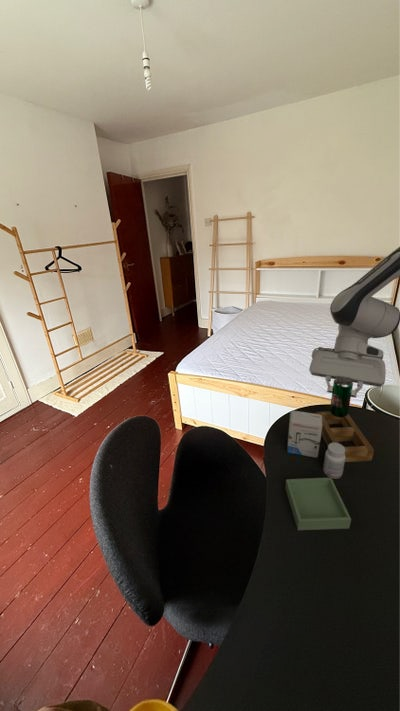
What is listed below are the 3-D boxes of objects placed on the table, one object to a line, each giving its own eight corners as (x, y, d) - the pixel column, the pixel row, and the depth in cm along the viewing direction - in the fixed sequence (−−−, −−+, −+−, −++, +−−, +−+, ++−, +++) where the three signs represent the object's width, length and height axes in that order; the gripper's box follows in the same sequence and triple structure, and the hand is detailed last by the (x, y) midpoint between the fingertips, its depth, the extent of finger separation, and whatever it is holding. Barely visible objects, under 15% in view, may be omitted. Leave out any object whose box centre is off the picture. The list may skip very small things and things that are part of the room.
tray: (329, 486, 75) (331, 477, 74) (349, 528, 65) (351, 519, 64) (285, 487, 76) (285, 479, 74) (297, 530, 66) (298, 521, 64)
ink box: (286, 452, 86) (289, 420, 81) (287, 441, 90) (290, 409, 85) (318, 458, 84) (322, 425, 78) (318, 446, 88) (322, 414, 83)
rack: (344, 420, 97) (345, 410, 96) (371, 460, 81) (374, 449, 80) (314, 421, 98) (315, 411, 96) (336, 462, 82) (338, 451, 80)
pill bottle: (346, 475, 78) (351, 451, 74) (332, 481, 76) (336, 457, 73) (332, 462, 82) (336, 439, 78) (319, 468, 80) (322, 444, 77)
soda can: (325, 411, 92) (330, 377, 86) (339, 406, 93) (343, 373, 88) (338, 420, 87) (343, 385, 82) (351, 415, 89) (357, 381, 84)
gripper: (312, 342, 92) (303, 384, 89) (389, 352, 82) (382, 399, 79) (314, 349, 97) (305, 389, 94) (387, 359, 88) (380, 404, 84)
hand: (341, 394), depth 87 cm, fingers closed on soda can, 5 cm apart
